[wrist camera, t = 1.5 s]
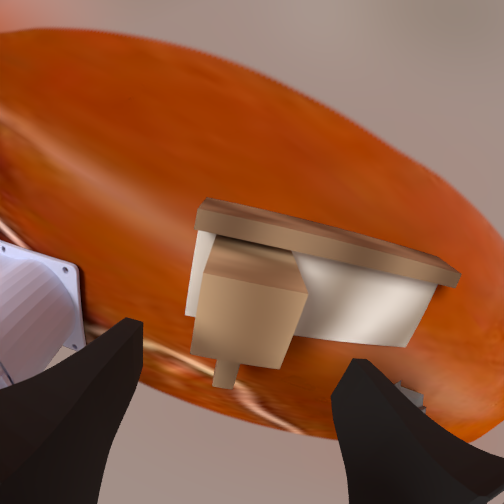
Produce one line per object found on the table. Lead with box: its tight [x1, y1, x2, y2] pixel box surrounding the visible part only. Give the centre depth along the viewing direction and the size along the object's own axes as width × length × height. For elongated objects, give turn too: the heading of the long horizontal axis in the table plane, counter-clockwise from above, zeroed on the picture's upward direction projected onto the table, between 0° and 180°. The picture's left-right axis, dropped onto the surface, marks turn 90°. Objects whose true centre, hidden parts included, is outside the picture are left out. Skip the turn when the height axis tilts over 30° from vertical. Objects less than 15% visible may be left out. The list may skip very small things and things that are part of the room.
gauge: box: [190, 234, 308, 389], centre depth 14 cm, size 4×8×5 cm, turn 167°
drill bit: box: [395, 381, 426, 413], centre depth 19 cm, size 5×5×10 cm
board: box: [185, 197, 461, 347], centre depth 16 cm, size 16×7×3 cm, turn 77°
